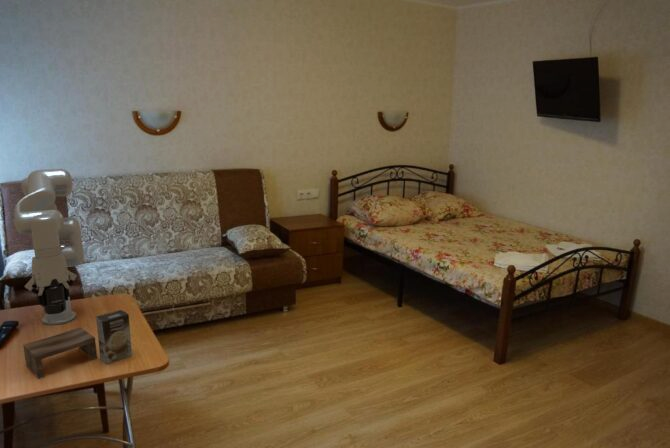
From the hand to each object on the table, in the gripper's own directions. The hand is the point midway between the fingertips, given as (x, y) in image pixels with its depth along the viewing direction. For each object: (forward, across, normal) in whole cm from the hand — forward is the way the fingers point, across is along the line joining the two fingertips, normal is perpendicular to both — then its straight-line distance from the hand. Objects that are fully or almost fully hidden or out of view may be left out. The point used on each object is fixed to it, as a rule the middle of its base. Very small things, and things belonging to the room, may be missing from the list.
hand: (54, 301), depth 172 cm
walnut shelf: (+22, 0, 0) cm, 22 cm away
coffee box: (+23, -14, +10) cm, 29 cm away
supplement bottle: (+3, 0, 0) cm, 3 cm away
